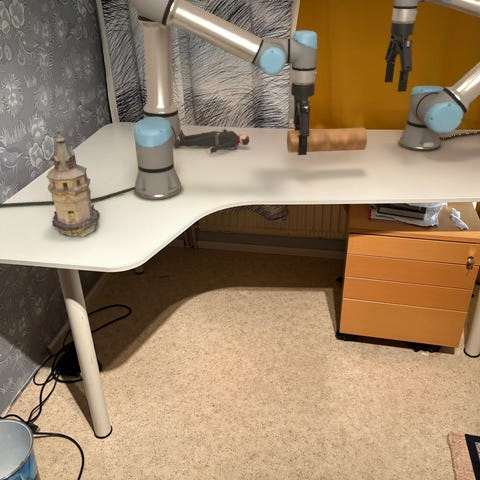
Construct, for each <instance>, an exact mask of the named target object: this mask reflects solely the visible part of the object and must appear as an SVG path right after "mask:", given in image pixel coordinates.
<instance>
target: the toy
mask: <svg viewBox="0 0 480 480" xmlns="http://www.w3.org/2000/svg"><path fill="white" fill-rule="evenodd" d="M249 143H250V136H249V135H247V134H239V135H238V134H237V133H236V132H234V131H233V130H227V129H226V128H222V129H221V131H217V130H216V131H215V130H213V131H206V132H201V133H195V134H189V135H185V133H184V132H183V129H181V131H180V134H179V136H178V138H177V140H176V141H175V144H174V146H173V148H174V149H177V148H180V147H187V148H189V147H200V148H201V147H209V148H207V149H206V153H207V154H214V153H217V152H218V151H222V150H226V149H227V150H234V149H237V147H238V146H239V144H240V145H242V146H247V145H248V144H249Z"/></svg>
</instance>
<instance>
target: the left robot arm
mask: <svg viewBox="0 0 480 480" xmlns="http://www.w3.org/2000/svg"><path fill="white" fill-rule="evenodd" d="M130 3H131V5H132V7H133V9H134V10H135V11H136V12H137V21H138V22H139V23H140V24H141V26H142V28H143V44H144V45H143V47H144V65H145V80H146V81H145V82H146V84H145V85H146V101H147V102H146V104H145V105H144V106H143V108H142V111H143V113H142V114H143V119H139V120H138V121H136V123H135V124H134V127H133V138H134V144H135V154H136V161H137V175H136V179H135V184H134V186H132V187H128V188H126V189H123V190H119V191H117V192H116V191H115V192H113V193H108V194H105V195H102V196H99V197H94V198H91V203H93V202H98V201H102V200H105V199H109V198H113V197H116V196H119V195H122V194H125V193H128V192H129V193H130V192H132V191H133V192H134V193H135V195H136V196H137V197H138V198H141V199H143V200H148V201H161V200H168V199H171V198H174V197H176V196H178V195H179V194H180V193H181V192H182V182H181V180H180V177H179V176H178V173H177V171H176V169H175V161H174V160H175V159H174V158H175V157H174V144H175V141H176V140H177V138H178V139H179V134H180V131H181V130H182V124H181V120H180V117H179V107H178V105H176V104H175V102H174V74H173V73H174V71H173V43H172V41H173V40H172V39H173V38H172V26H173V27H175V28H178V29H179V30H181V31H183V32H185V33H188V35H189V34H190V35H191V36H194V37H195V38H198V39H200V40H202V41H204V42H206V43H208V44H210V45H212V46H214V47H216V48H218V49H221V50H223V51H224V52H227V53H229V54H231V55H233V56H235V57H237V58H239V59H241V60H243V61H245V62H247V63H250V64H251V65H253V66H255V67H257V68H259V69H260V70H261V71H262V72H263V73H264V74H266V75H267V76H276V75H279V74H280V73H281V72H282V71H283V70H284V68H285V67H286V64H287V65H289V64H290V65H291V80H290V81H291V82H292V83H291V85H290V87H291V88H290V89H291V90H290V94H291V96H293V97H294V109H293V121H292V124H293V127H294V130H300V135H298V137H299V147H298V152H297V155H298V156H307V153H308V152H307V137H308V136H309V130H310V118H311V117H310V114H311V105H310V101H309V98H310V97H313V96H314V95H315V91H316V84H315V82H316V75H318V71H317V70H316V68H317V57H318V34H317V32H315V31H313V30H296V31H294V32H293V34H292V37H290V38H289V37H288V38H281V37H280V38H279V37H276V38H272V37H271V38H269V37H268V38H267V37H264V38H261V37H259V36H257V35H255V34H254V33H252V32H249V31H248V30H245V29H243V28H241V27H239V26H237V25H236V24H234V23H232V22H230V21H228V20H226V19H224V18H221V17H219V16H217V15H215V14H213V13H212V12H210V11H207V10H206V9H203V8H201V7H199V6H197V5H196V4H193V3H192V2H189V1H188V0H130ZM42 205H44V206H45V205H54V201H53V200H45V201H25V202H23V201H22V202H8V203H7V202H6V203H0V208H4V207H22V206H42Z"/></svg>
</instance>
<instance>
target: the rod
mask: <svg viewBox="0 0 480 480" xmlns="http://www.w3.org/2000/svg"><path fill="white" fill-rule="evenodd" d="M298 135H300V130H295V129H294V130H291V129H289V130H287V133H286V148H287V149H286V150H287V152H288V154H291V153H293V154H295V153H297V154H298V147H299V137H298ZM367 144H368V133H367V130H366V128H365V127H344V128H342V127H341V128H317V129H316V128H315V129H314V128H313V129H309V136H308V137H307V153H317V152H318V153H319V152H320V153H321V152H339V151H340V152H341V151H363V150H365V149H366V147H367Z"/></svg>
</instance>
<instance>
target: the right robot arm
mask: <svg viewBox="0 0 480 480" xmlns="http://www.w3.org/2000/svg"><path fill="white" fill-rule="evenodd" d="M418 3H434V4H438V5H441V6H443V7H447V8H450V9H452V10H456V11H459V12H462V13H465V14H468V15H471V16H474V17H477V18H480V0H393V7H392V13H391V21H392V22H391V24H390V32H389V33H390V38H389V43H388V46H387V48H386V49H387V50H386V53H385V56H384V61H386V67H385V76H384V83H394V82H393V81H394V74H395V73H394V72H395V66H396V63H397V62H396V59H397V56H398V57H399V62H400V70H399V76H398V83H397V84H398V85H397V92H399V93H402V92H403V93H404V92H407V87H408V80H409V73H410V72H413V52H412V50H413V49H412V45H413V40H412V39H409V36H413V35H414V32H415V23H414V22H415V21H416V17H417V14H418ZM479 96H480V61H479V62H478V63H477V64H476V65H475V66H473V67H472V68H471V69H470V70H469V71H468V72H466V74H464V75H463V76H462V77H461V78H460V79H459V80H458V81H457V82H456V83H454V84H453V85H452V86H445V87H443V86H438V85H418V86H417V85H416V86H414V87H413V88H411V92H410V95H409V98H410V99H409V105H408V110H407V111H408V112H407V120H406V125H405V127H404V129H403V131H402V133H401V135H400V138H399V141H398V142H399V143H398V144H399V145H400V146H401V147H403V148H405V149H407V150H409V151H410V150H411V151H415V152H416V151H418V152H431V151H435V150H437V149H439V147H440V145H441V144H440V143H441V141H440V140H443V141H444V140H451V139H454V138H457V137H465V136H473V135H479V134H480V130H478V131H476V132H477V133H474V132H475V131H471V132H470V131H469V132H468V133H469V134H466V133H467V132H463V133H456V134H452V135H453V136H452V135H450V136H451V137H449V136H445V137H444V136H439V134H442V135H443V134H448V133H451V132H454V131H455V130H456V129H458V127H459V126H460V125H461V123H462V121H463V118H464V115H465V114H466V113H467V112H468V111H469V105H470V104H471V103H472V102H473V101H474V100H475V99H476V98H477V97H479ZM459 134H461V135H459ZM454 135H455V136H454ZM443 138H444V139H443Z"/></svg>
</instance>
